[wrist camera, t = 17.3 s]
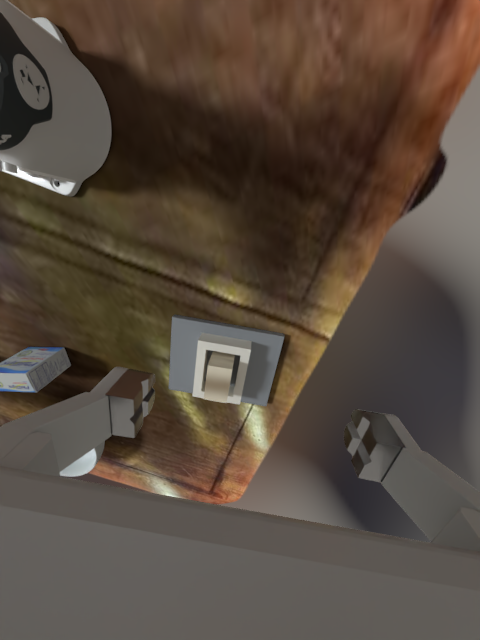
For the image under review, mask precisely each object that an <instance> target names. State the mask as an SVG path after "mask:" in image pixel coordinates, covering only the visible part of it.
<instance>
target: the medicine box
mask: <svg viewBox="0 0 480 640" xmlns="http://www.w3.org/2000/svg"><path fill="white" fill-rule="evenodd" d="M70 366H71V363H70V361H69V358H68V356H67V353H66V350H65V348H64V347H28V348H26V349H24V350H22V351H21V352H19V353H17V354H15V355H14V356H12V357H10V358H8V359H6V360H5V361H3V362H1V363H0V391H12V392H38V391H39V390H41V389H42V388H43V387H45V386H46V385H47V384H48V383H50V382H51V381H52V380H53V379H55V378H56V377H57V376H58V375H60V374H61V373H62V372H64V371H65V370H66V369H67V368H69V367H70Z"/></svg>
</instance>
